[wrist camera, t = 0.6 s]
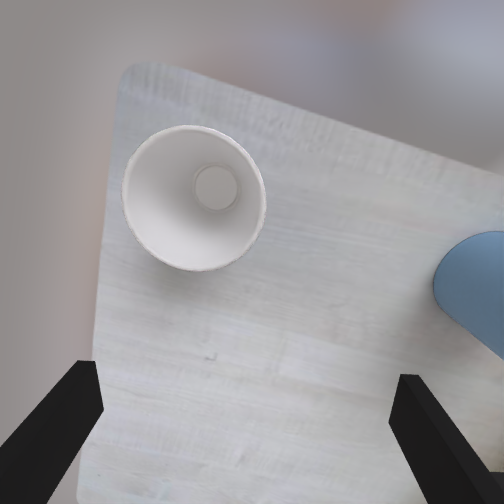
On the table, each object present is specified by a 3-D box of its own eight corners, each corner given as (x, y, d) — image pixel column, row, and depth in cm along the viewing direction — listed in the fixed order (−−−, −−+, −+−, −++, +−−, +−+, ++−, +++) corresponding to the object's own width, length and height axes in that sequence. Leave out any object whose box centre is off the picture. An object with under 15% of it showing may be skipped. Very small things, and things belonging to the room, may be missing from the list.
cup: (149, 179, 29) (89, 191, 19) (222, 114, 27) (199, 87, 17) (211, 251, 32) (188, 297, 21) (283, 196, 29) (296, 217, 19)
